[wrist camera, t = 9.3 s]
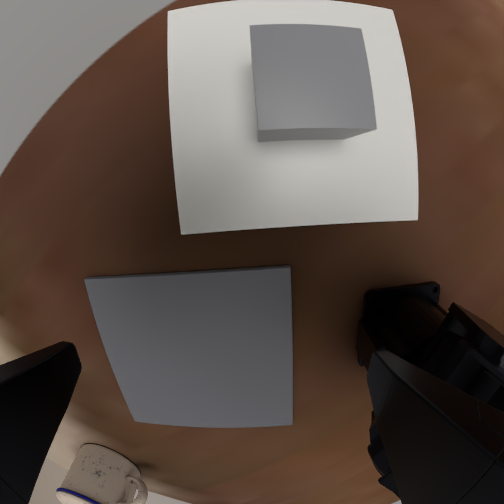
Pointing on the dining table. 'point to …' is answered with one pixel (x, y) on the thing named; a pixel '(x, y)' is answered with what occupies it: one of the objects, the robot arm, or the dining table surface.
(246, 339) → the mat
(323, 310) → the dining table surface
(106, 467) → the teacup with lid
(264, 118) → the lid
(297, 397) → the dining table surface
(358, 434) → the dining table surface
